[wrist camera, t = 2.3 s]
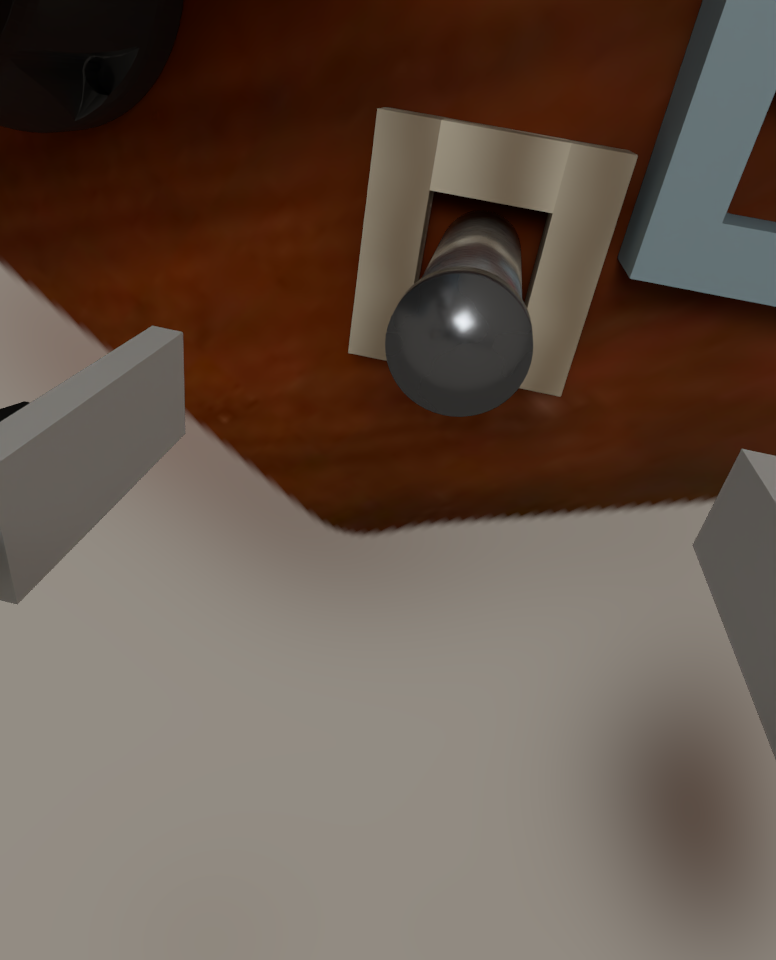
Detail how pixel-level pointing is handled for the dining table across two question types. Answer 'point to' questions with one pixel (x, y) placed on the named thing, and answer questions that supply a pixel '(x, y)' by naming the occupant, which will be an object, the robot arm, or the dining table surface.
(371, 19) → the dining table surface
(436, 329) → the pin
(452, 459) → the dining table surface
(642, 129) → the dining table surface
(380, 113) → the beige square frame
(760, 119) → the socket
